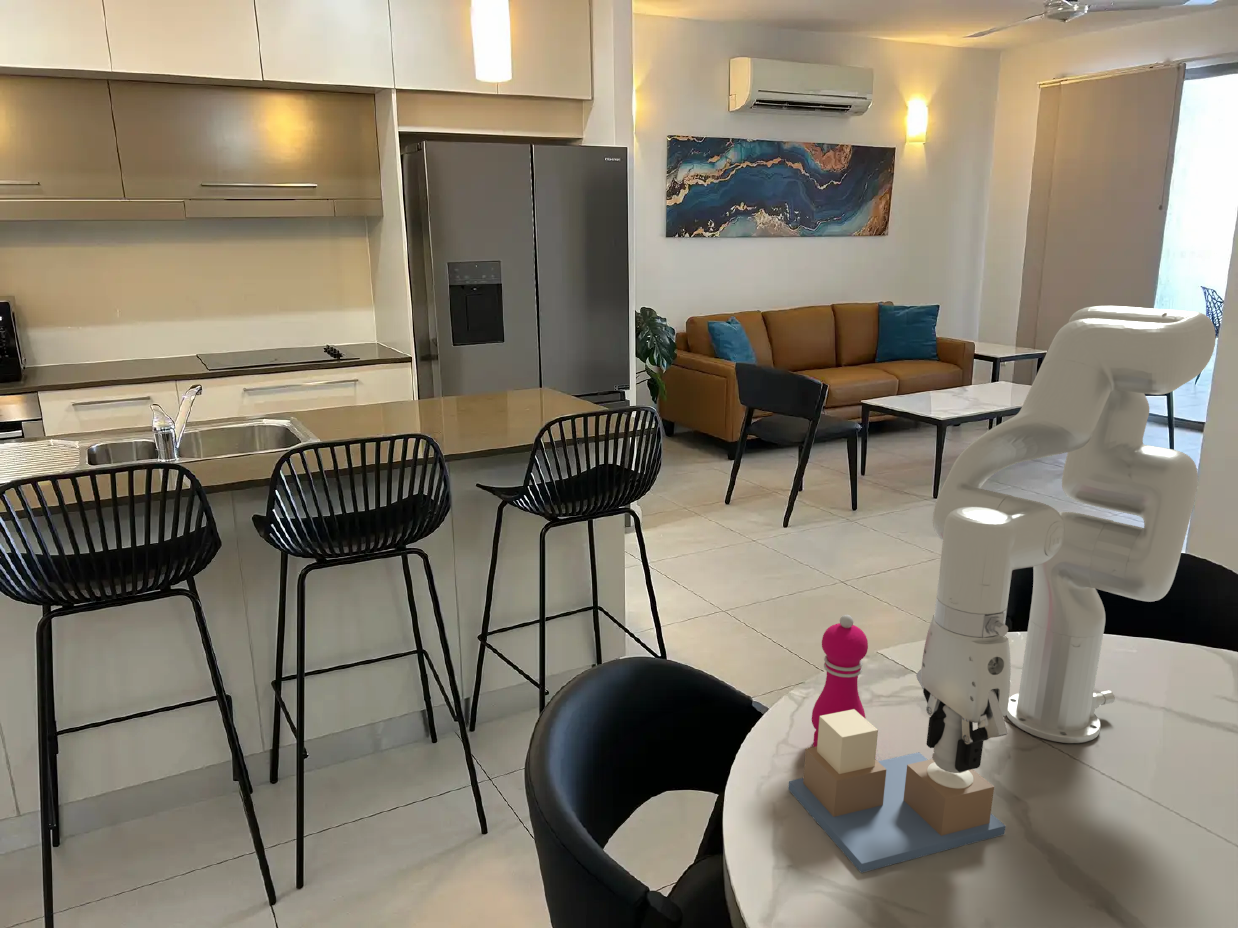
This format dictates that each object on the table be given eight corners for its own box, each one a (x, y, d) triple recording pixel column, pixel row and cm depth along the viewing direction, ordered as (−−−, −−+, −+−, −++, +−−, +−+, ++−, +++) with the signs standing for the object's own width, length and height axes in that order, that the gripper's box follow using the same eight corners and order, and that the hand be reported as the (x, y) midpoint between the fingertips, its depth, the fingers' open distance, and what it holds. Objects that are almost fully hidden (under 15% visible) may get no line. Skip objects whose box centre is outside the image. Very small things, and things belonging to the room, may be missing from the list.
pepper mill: (830, 768, 117) (841, 631, 112) (799, 740, 124) (808, 609, 119) (874, 756, 120) (887, 621, 115) (841, 729, 127) (852, 600, 121)
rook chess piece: (974, 776, 103) (982, 715, 101) (934, 772, 104) (941, 711, 102) (967, 755, 107) (975, 696, 105) (929, 750, 108) (935, 692, 106)
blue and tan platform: (918, 759, 119) (926, 685, 116) (1004, 834, 105) (1016, 751, 102) (788, 788, 113) (793, 711, 110) (860, 872, 98) (869, 785, 95)
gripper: (1053, 642, 94) (1030, 791, 99) (947, 584, 109) (932, 715, 114) (996, 653, 91) (976, 805, 96) (896, 591, 107) (883, 725, 112)
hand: (952, 755), depth 105 cm, fingers closed on rook chess piece, 4 cm apart
